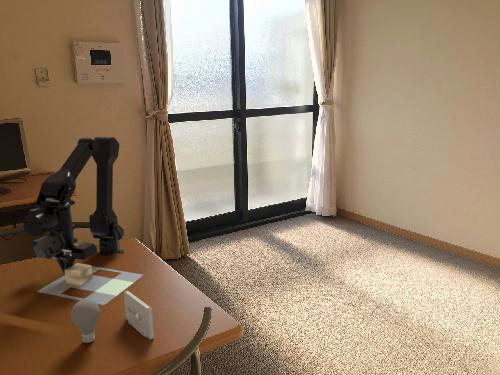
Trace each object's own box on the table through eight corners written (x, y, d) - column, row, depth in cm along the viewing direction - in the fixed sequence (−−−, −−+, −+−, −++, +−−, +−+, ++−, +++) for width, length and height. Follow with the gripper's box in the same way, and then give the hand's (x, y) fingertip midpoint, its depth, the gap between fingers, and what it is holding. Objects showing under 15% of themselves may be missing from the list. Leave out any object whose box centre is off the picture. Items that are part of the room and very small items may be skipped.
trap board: (83, 269, 130) (82, 264, 130) (144, 279, 123) (143, 274, 123) (37, 296, 114) (36, 291, 114) (104, 310, 107) (104, 305, 107)
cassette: (156, 337, 95) (154, 307, 94) (149, 341, 94) (146, 310, 92) (131, 316, 104) (128, 288, 102) (124, 319, 103) (121, 291, 101)
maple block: (78, 275, 123) (77, 262, 122) (92, 278, 121) (91, 265, 120) (66, 283, 118) (64, 270, 117) (80, 286, 117) (78, 272, 116)
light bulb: (107, 333, 97) (103, 294, 94) (95, 350, 91) (90, 308, 89) (82, 332, 98) (77, 293, 95) (69, 348, 92) (63, 307, 89)
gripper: (11, 229, 113) (19, 282, 117) (66, 237, 106) (72, 293, 110) (43, 216, 123) (50, 266, 127) (95, 224, 117) (100, 275, 121)
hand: (67, 275), depth 121 cm, fingers closed
